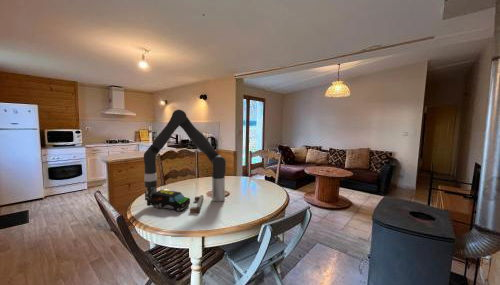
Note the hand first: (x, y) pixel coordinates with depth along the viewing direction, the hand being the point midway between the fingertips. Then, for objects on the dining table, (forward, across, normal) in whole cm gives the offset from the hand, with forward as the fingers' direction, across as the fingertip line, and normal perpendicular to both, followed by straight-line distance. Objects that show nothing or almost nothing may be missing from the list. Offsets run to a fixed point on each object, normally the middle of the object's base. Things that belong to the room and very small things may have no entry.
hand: (151, 202), depth 137 cm
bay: (+3, 0, -30) cm, 30 cm away
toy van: (+3, 0, -13) cm, 13 cm away
